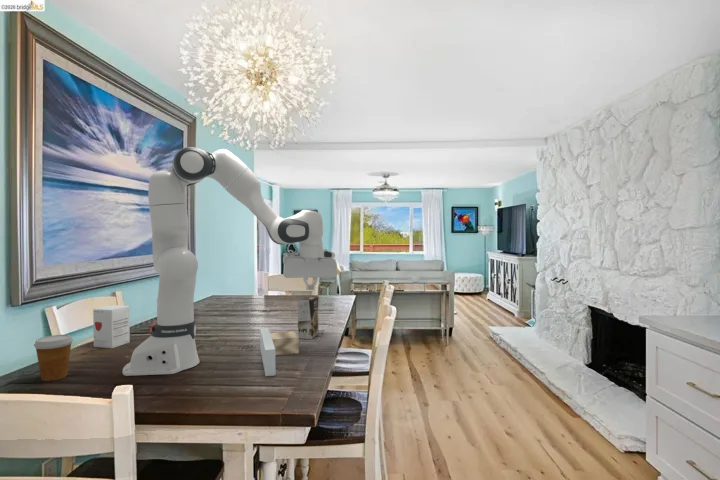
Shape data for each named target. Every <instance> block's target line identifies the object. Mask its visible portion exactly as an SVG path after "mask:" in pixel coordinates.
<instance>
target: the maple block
mask: <svg viewBox="0 0 720 480" xmlns="http://www.w3.org/2000/svg"><path fill="white" fill-rule="evenodd" d="M270 334H271V337H272V340H273V344H274V347H275V356H283V355H294V353H295V354H299V353H300V338H299V337H298V333H297V332H296V331H283V332H272V333H271V332H270Z"/></svg>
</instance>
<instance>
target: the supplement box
mask: <svg viewBox="0 0 720 480" xmlns="http://www.w3.org/2000/svg"><path fill="white" fill-rule="evenodd" d="M92 312H93V313H92V314H93V315H92V316H93V317H92V318H93V348H101V349H102V348H104V349H115V348H118V347H120V346H123V345H126V344H130V341H131V339H130V337H131V335H130V333H131V332H130V331H131V330H130V329H131V328H130V305H120V304H119V305H118V304H117V305H116V304H115V305H114V304H111V305H105V306H99V307H96V308H93V310H92Z"/></svg>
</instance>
